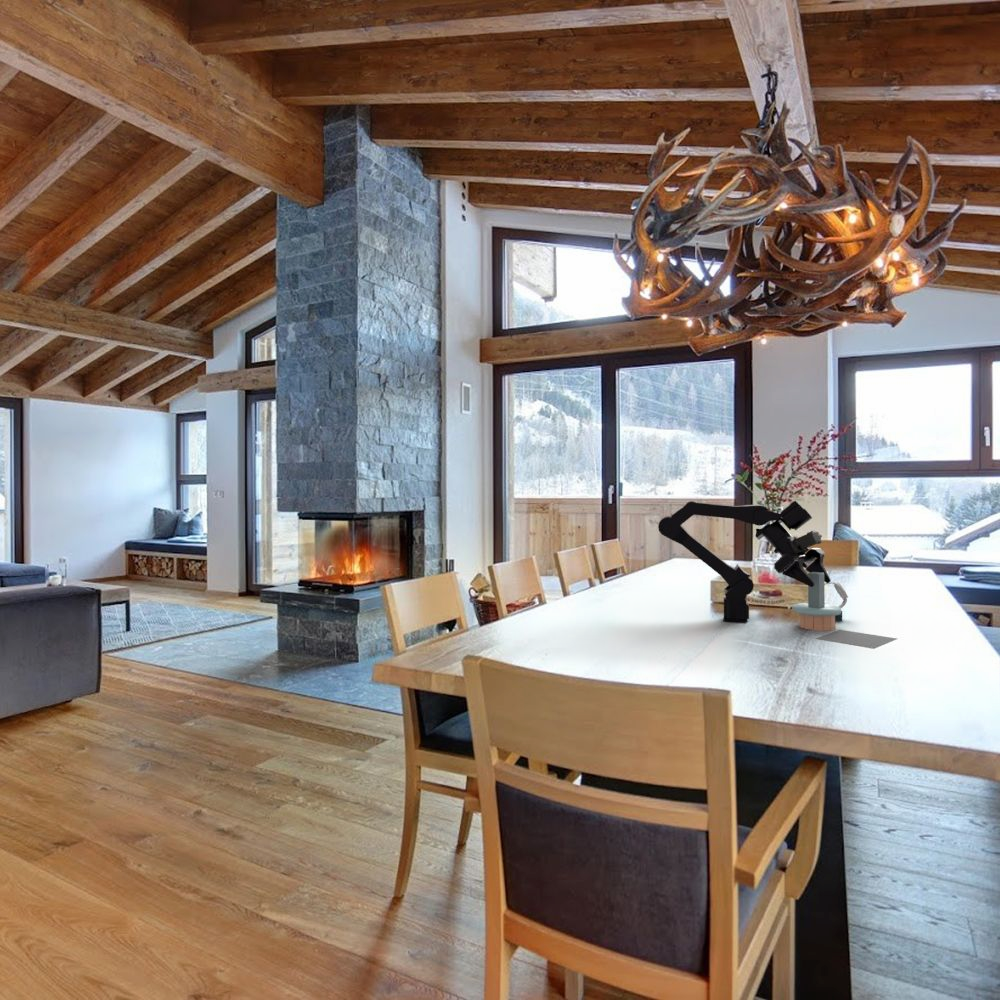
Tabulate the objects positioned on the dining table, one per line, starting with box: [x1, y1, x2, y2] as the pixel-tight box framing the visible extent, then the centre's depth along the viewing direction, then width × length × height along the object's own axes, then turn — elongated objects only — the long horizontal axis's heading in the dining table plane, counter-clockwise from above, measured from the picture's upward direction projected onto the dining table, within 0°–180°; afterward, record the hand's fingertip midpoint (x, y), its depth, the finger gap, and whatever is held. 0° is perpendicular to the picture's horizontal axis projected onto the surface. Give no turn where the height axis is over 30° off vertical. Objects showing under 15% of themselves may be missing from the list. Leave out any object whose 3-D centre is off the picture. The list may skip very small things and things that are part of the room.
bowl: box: [798, 613, 836, 632], centre depth 183 cm, size 9×9×4 cm
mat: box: [814, 629, 898, 650], centre depth 169 cm, size 14×14×1 cm
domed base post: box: [791, 572, 842, 616], centre depth 183 cm, size 12×12×10 cm
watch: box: [824, 581, 849, 622], centre depth 193 cm, size 6×8×11 cm
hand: (821, 584), depth 182 cm, fingers open, 9 cm apart
